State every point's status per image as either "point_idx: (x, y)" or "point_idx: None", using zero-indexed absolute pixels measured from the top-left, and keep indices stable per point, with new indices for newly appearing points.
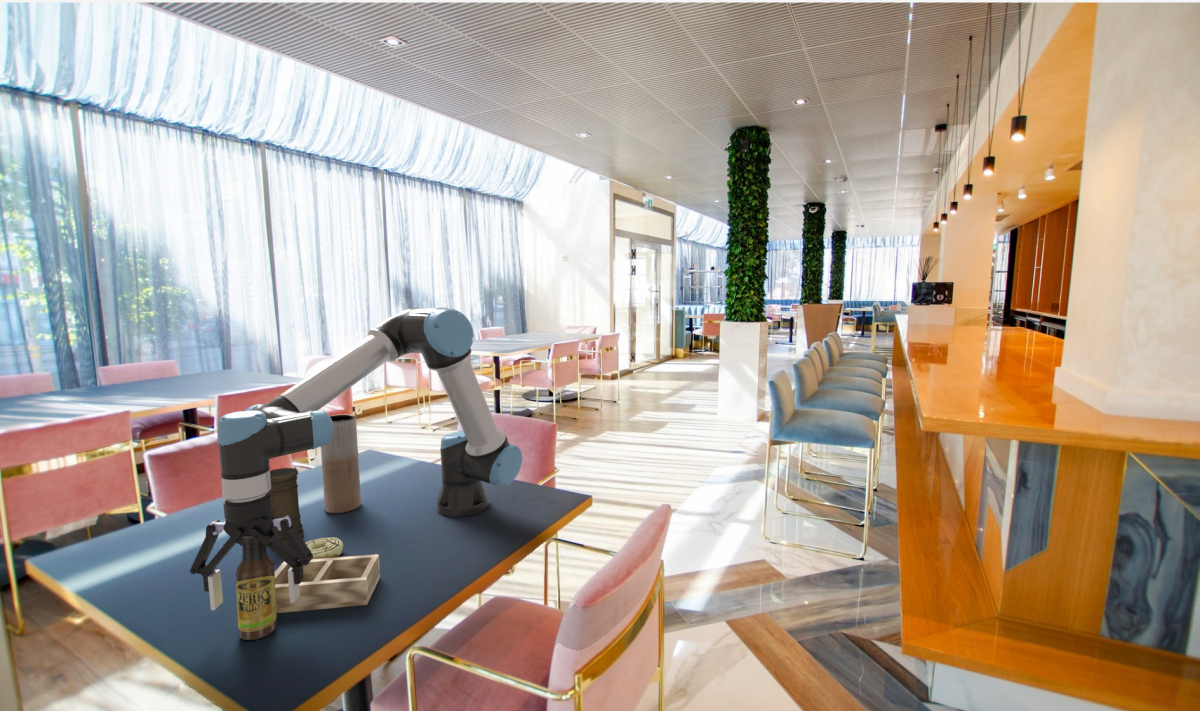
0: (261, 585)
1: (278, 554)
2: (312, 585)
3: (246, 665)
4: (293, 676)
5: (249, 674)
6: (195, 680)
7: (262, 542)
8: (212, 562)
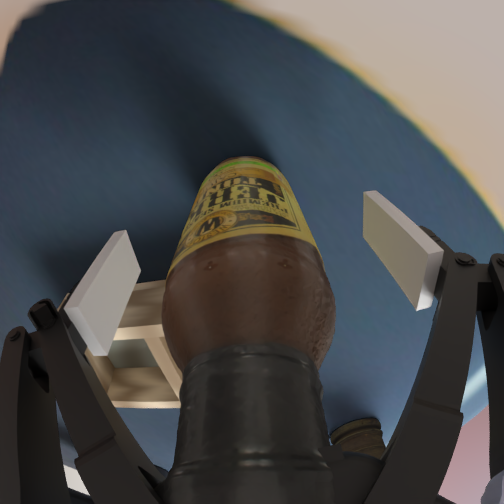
0: (183, 241)
1: (79, 379)
2: (148, 322)
3: (187, 67)
4: (59, 55)
5: (158, 40)
6: (284, 18)
7: (123, 472)
8: (464, 305)
